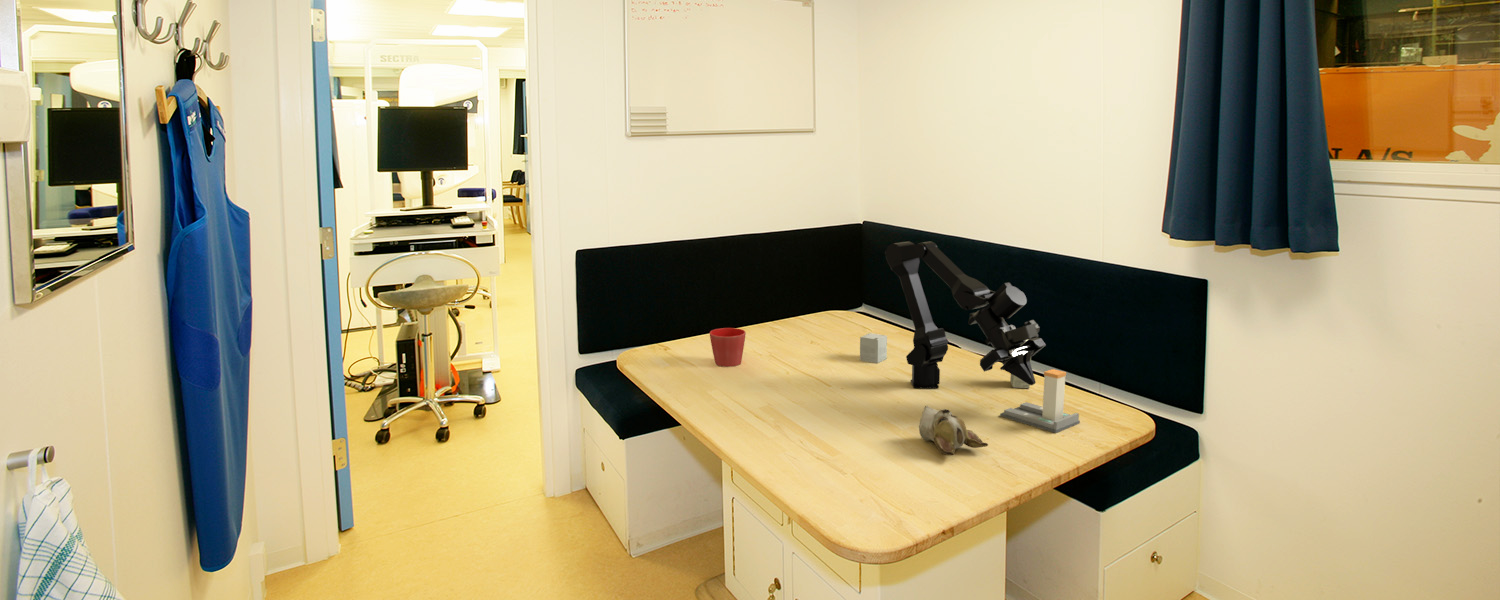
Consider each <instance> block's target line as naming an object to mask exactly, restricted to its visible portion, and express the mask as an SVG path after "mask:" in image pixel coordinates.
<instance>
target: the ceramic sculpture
mask: <svg viewBox="0 0 1500 600" xmlns="http://www.w3.org/2000/svg"><path fill="white" fill-rule="evenodd" d="M923 407H924V408H923V410H922V415H921V417H920V421H919V425H918V431H919V435H920V437H921V438H922V439H923V441H932V442H934V445H935V447H936V448H937V450H938V451H939V452H940V453H941V454H944V455H947V456H954V455H955V451H956V450H957V449H959V448H961V447H962V446H964V445H965V446H967V447H969V448H973V449H974V448H978V449H979V448H985V447H988V446H989V444H988V442H987V443H986V442H983V440H982V439H981V438H979V436H978V434H977V433H974V432H973V430H970V429H967V426H966V423H965V421H963V419H962V418H959V417H958V416H956V415H953V413H952V411H950V410H949V409H945V408H944V409H941V410H938V409H934V408H933V407H931V406H928V405H924V406H923Z"/></svg>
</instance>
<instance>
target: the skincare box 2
mask: <svg viewBox="0 0 1500 600" xmlns="http://www.w3.org/2000/svg"><path fill="white" fill-rule="evenodd" d="M1028 340H1029V339H1028ZM1028 340H1026V341H1028ZM1023 344H1024V343H1023ZM1023 344H1022V345H1023ZM1031 361H1032V357H1031V358H1030V363H1031V364H1032V362H1031ZM1010 385H1011V386H1012V388H1017V389H1030V388H1031V387H1030V386H1031V385H1029V384H1027V383H1026V382H1024V381H1023V380H1021V379H1019V378H1018V377H1016V376H1014V375H1012V374H1011V373H1010Z"/></svg>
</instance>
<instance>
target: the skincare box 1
mask: <svg viewBox="0 0 1500 600" xmlns="http://www.w3.org/2000/svg"><path fill="white" fill-rule="evenodd" d="M859 341H860V342H859V361H861V362H865V363H873V364H880V363H881V362H883V361H885V360H886V359H887V358H888V357H887V356H888V355H887V354H888V353H887V352H888V348H887V347H888V335H886V334H878V333H872V332H869V333H866V334H865V335H862V336H860V338H859Z"/></svg>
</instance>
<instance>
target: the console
mask: <svg viewBox="0 0 1500 600" xmlns="http://www.w3.org/2000/svg"><path fill="white" fill-rule="evenodd" d="M1042 413H1043V405H1038V404H1034V403H1031V402H1027V401H1025V402H1023V403H1020V405H1019V406H1017V407H1014V408H1012V407H1009V408H1006V409H1004V410H1003V412H1001V413H1000V414H999V416H1000V417H1002V418H1005V419H1009V420H1012V421H1014V422H1018V423H1021V424H1024V425H1027V426H1031V427H1034V428H1037V429H1041V430H1043V431H1048V432H1051V433H1053V434H1054V433H1055V434H1058V433H1059V432H1062V431H1065V430H1067V429H1069V428H1071V427H1074V426H1076V425H1079V424H1080V423H1081V421H1080V420H1079V417H1080V414H1079V413H1078V412H1075V413H1072V414H1070V413H1066V412H1063V418H1061V419H1059V420H1056V421H1053V420H1050V419H1046V418H1043V417H1042Z"/></svg>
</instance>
